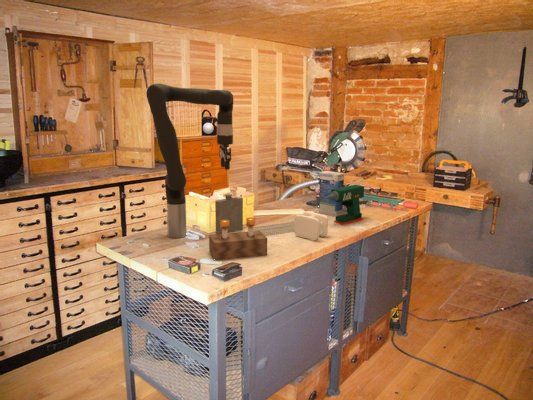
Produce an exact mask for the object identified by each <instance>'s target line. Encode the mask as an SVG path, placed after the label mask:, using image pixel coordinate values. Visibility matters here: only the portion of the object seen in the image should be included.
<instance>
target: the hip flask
mask: <svg viewBox="0 0 533 400" xmlns="http://www.w3.org/2000/svg"><path fill="white" fill-rule="evenodd" d="M224 197H225V198H222V199H218V200H215V202H214V205H215V234H222V228H220V220H224V219H226V220H229V228H228V233H234V232H240V231H241V232H242V231H243V230H244V227H243V226H244V215H243V214H244V210H243V209H244V205H243V204H244V200H243V199H244V198H243V197H242V196H241V197H239V196H238V197H236V196H235V197H234V196H233V195H232V194H231V193H225V195H224Z"/></svg>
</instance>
